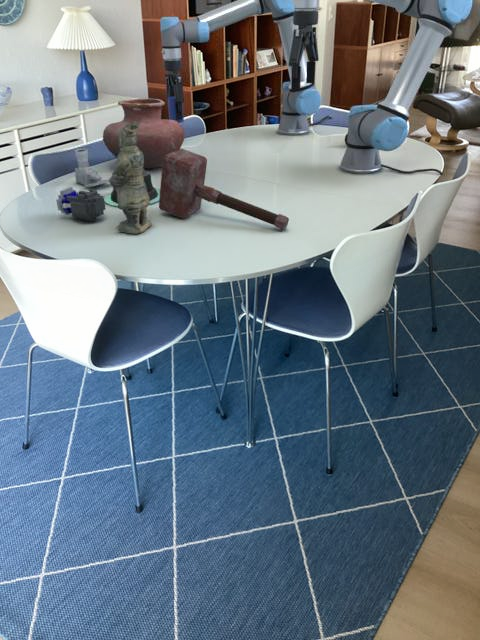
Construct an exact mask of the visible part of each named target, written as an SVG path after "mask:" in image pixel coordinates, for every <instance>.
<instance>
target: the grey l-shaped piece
mask: <svg viewBox="0 0 480 640" xmlns="http://www.w3.org/2000/svg"><path fill="white" fill-rule="evenodd" d="M88 151H89V150H88V149H87V148H77V149H75V150H74V153H75V158H76V160H77V167H75V168H74V174H75V175H74V176H75V181H76V183H78V184H80V185H83V188H90V187H96V186H100V185H103V184H107V183H109V179H110V178H109V179H103V178H102V177H103V176H102V175H100V174H99V171H98V170H97V169H93V168H90V164H89V152H88Z"/></svg>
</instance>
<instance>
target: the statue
mask: <svg viewBox="0 0 480 640" xmlns="http://www.w3.org/2000/svg"><path fill="white" fill-rule="evenodd" d="M138 127H139V123H138V122H137V121H133V122H131V123H128V124H127V125H126V126H125V127H124V128H123V129H121V130H120V133H119V138H118V140H119V147H120V151H119V154H118V156H117V158H116V160H115V164H114V169H113V172H114V175H113V176H112V175H111V176H110V177H109V182H108V183H109V184H110V186H111V187H112V188H113V187H114V188H115V189H116V192H117V202H118V206H117V209H119V210H122V213H123V214H124V215H125V218H126V219H125V220H122V221H120V222H119V224H118V225H117V231H118V232H121V233H126V234H134V235H136V234H142V233H143V232H145V231H146V230H147V229H148V228H150V227H151V226H152V225H153V223H152V220H150V219H148V216H147V214H148V213H147V212H148V211H147V209H148V206H149V205H150V197H149V195H148V192H147V188H146V184H145V182H144V178H143V169H144V168H143V166H144V156H143V153H142V151H141V150H139V149H138V147H137V146H136V143H137V138H136V131H137V130H138Z"/></svg>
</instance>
